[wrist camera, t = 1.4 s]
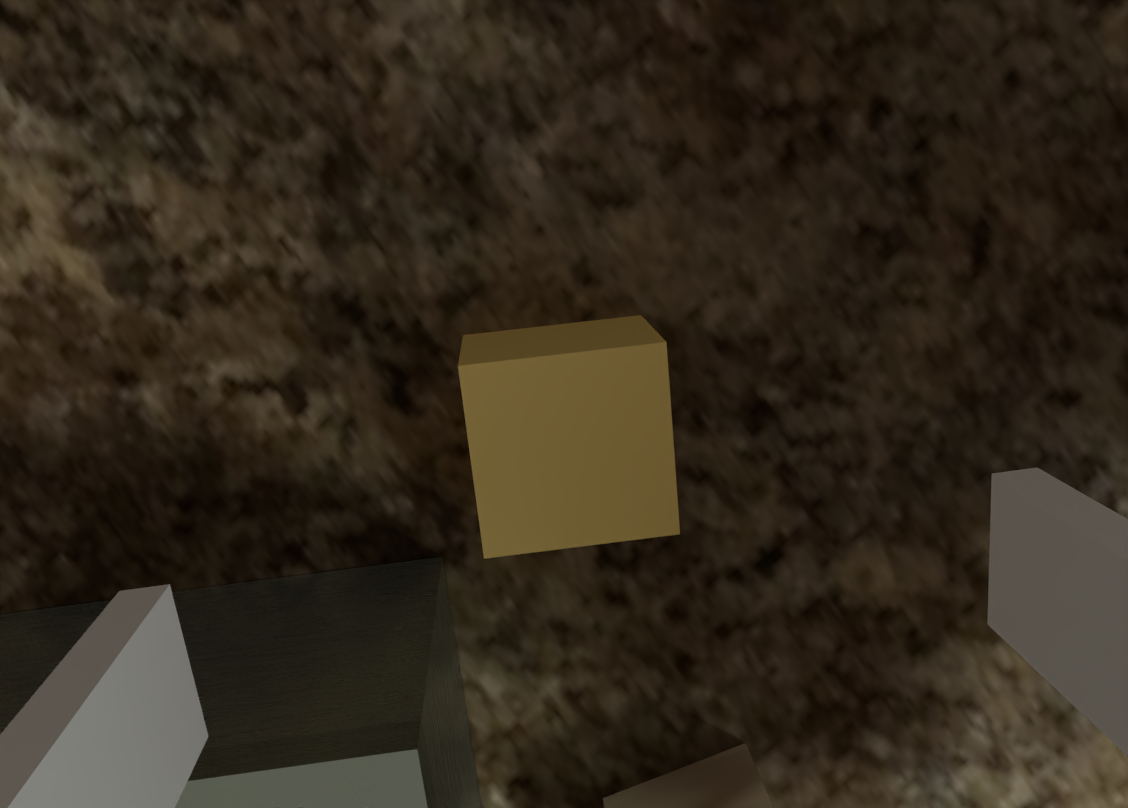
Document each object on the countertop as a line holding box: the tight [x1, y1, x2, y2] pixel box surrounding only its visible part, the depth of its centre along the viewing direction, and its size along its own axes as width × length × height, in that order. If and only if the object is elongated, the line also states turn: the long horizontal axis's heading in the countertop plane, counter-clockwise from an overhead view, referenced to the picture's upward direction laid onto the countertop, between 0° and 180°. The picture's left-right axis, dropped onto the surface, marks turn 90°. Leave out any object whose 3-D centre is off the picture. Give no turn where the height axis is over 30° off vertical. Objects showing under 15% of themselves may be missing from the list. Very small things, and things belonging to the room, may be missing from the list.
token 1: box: [458, 315, 680, 559], centre depth 24 cm, size 5×5×4 cm
